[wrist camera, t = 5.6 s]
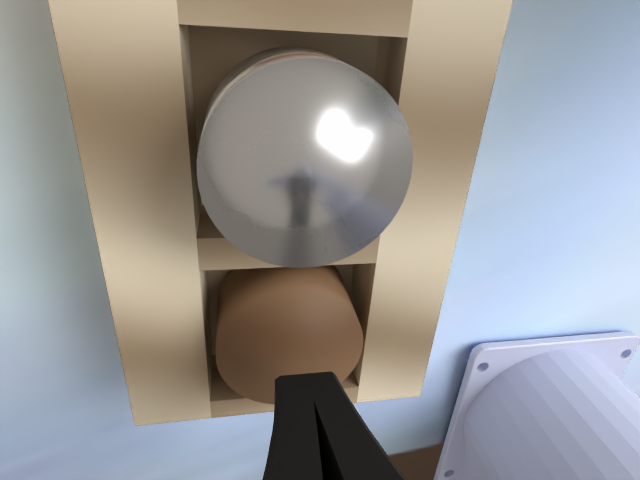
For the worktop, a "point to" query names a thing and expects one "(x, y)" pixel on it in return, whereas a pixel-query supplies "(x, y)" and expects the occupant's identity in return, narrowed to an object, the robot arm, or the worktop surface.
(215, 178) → the steel button
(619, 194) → the worktop surface
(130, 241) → the light wooden flat frame
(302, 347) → the walnut button
